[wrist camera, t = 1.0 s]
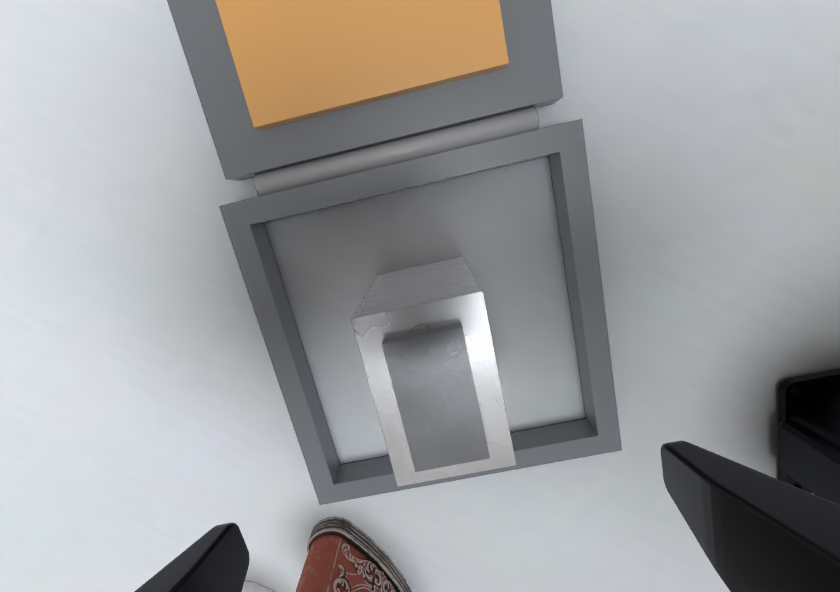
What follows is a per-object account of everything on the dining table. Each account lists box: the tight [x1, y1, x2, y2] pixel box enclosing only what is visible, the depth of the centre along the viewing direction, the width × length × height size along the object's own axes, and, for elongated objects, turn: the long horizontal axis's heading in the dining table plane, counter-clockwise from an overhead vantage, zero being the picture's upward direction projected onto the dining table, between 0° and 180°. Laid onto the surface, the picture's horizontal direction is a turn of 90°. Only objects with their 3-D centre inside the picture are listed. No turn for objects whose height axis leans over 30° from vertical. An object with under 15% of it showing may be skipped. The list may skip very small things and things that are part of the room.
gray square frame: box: [219, 119, 622, 505], centre depth 19 cm, size 15×15×2 cm
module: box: [351, 256, 516, 487], centre depth 16 cm, size 4×6×8 cm, turn 13°
